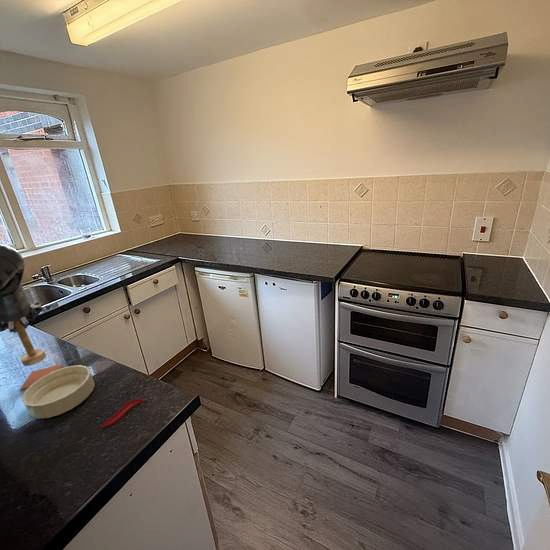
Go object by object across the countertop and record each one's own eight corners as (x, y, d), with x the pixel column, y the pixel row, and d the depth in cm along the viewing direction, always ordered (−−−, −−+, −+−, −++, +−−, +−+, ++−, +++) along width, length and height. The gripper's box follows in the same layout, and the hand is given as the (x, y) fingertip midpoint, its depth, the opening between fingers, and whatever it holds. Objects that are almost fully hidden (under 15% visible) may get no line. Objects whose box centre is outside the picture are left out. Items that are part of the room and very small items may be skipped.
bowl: (18, 428, 77) (10, 413, 76) (42, 387, 92) (36, 374, 90) (88, 408, 82) (81, 394, 80) (100, 372, 96) (95, 359, 94)
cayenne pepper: (144, 396, 84) (142, 390, 83) (149, 405, 80) (147, 400, 80) (97, 419, 78) (94, 413, 77) (99, 430, 74) (97, 425, 73)
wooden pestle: (19, 368, 91) (-3, 325, 85) (27, 357, 96) (8, 316, 91) (42, 362, 92) (22, 320, 87) (49, 351, 98) (30, 311, 92)
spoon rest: (20, 390, 91) (19, 389, 91) (32, 372, 100) (31, 371, 99) (53, 382, 94) (53, 380, 94) (62, 365, 102) (62, 363, 102)
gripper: (34, 281, 85) (40, 309, 97) (-32, 300, 75) (-16, 328, 88) (46, 302, 83) (51, 327, 95) (-20, 324, 74) (-5, 349, 86)
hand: (19, 328), depth 92 cm, fingers closed on wooden pestle
